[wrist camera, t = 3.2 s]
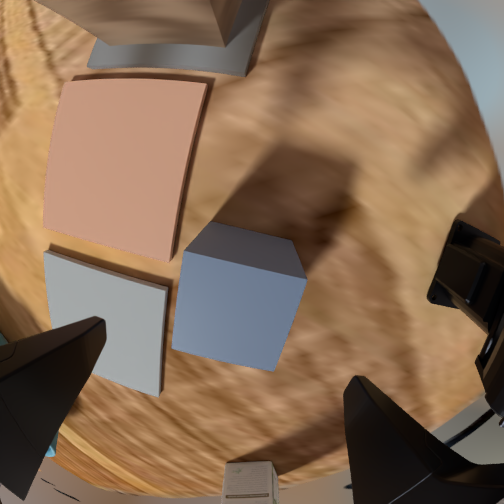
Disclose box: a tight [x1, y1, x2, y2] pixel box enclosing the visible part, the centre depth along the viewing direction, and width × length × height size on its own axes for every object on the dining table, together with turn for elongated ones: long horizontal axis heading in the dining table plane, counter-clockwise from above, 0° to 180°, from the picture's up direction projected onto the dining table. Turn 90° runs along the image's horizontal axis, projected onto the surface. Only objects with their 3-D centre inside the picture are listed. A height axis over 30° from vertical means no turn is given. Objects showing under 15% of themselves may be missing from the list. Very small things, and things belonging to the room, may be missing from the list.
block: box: [172, 221, 307, 371], centre depth 14 cm, size 5×5×6 cm
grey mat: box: [44, 250, 168, 398], centre depth 19 cm, size 11×11×1 cm
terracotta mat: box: [43, 79, 208, 263], centre depth 15 cm, size 11×11×1 cm
